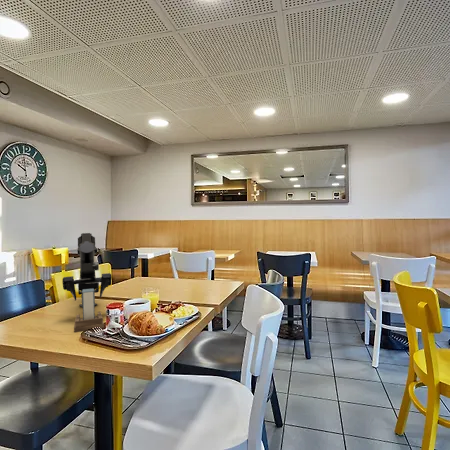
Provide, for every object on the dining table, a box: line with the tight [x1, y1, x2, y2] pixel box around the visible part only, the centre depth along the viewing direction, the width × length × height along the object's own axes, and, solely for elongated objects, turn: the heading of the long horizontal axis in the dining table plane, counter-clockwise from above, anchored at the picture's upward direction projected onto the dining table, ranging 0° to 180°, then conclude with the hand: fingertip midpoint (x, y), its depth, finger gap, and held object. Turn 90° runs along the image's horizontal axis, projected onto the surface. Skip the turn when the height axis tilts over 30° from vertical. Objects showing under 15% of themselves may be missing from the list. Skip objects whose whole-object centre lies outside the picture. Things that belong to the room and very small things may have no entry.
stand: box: [73, 311, 105, 333], centre depth 119 cm, size 12×10×4 cm
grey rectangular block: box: [81, 288, 96, 320], centre depth 119 cm, size 5×4×12 cm
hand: (88, 298), depth 125 cm, fingers open, 9 cm apart
